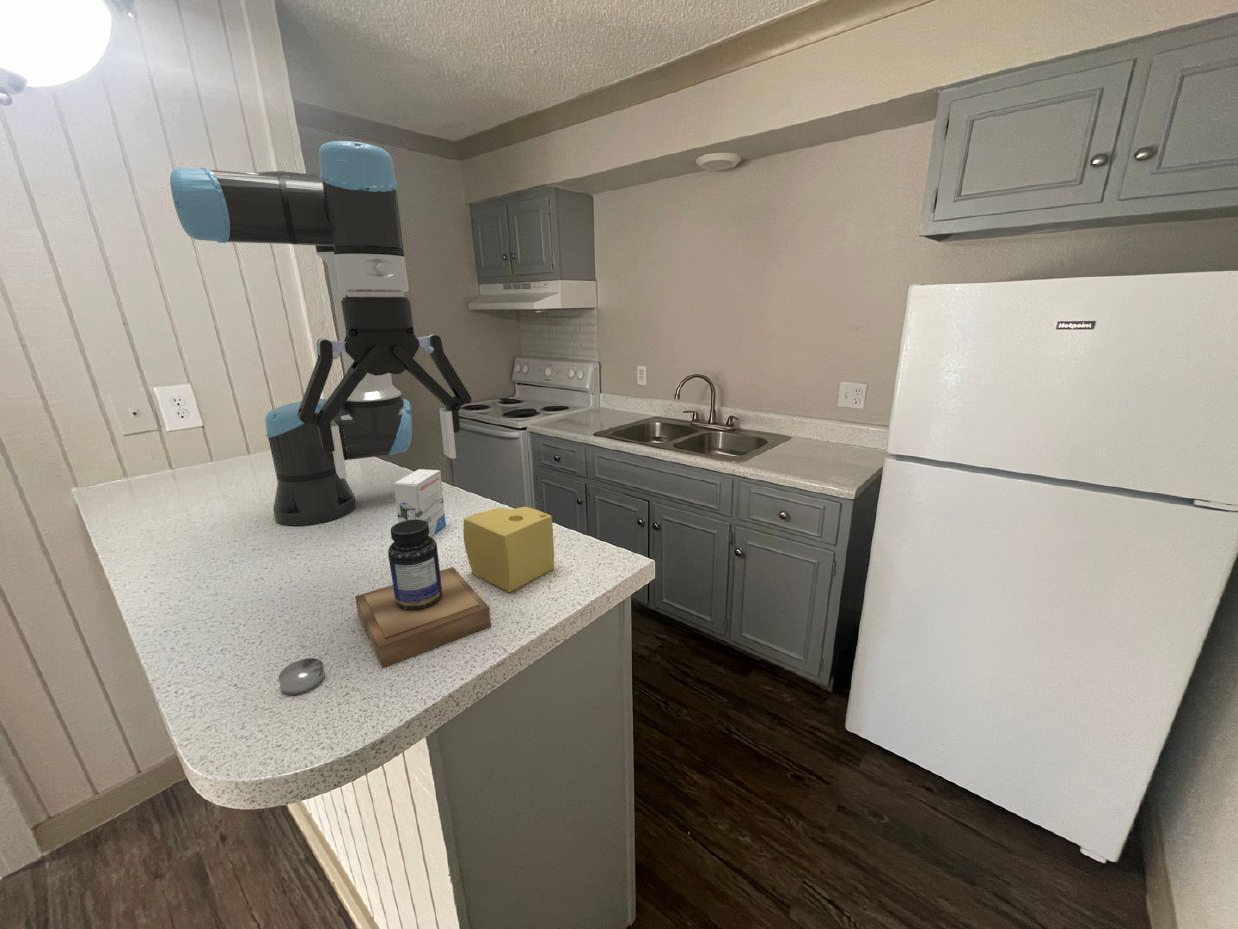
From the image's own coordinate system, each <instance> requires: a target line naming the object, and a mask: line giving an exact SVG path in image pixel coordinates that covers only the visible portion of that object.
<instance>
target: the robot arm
mask: <svg viewBox="0 0 1238 929" xmlns="http://www.w3.org/2000/svg"><path fill="white" fill-rule="evenodd" d="M318 158H319V159H318V160H319V168H320V171H319V174H313V173H302V172H292V171H281V170H275V171H274V170H273V171H271V170H270V171H260V172H240V171H239V172H237V171H236V172H235V171H229V170H228V171H225V170H217V169H210V168H207V167H205V168H204V167H199V168H192V167H191V168H188V167H186V168H185V167H178V168H174V169H173V170H172V171H171V172H170V176H169V185H170V191H171V195H172V201H173V205H174V209H175V212H176V215H177V218H178V220H179V223H180V225H181V227H182V229H183V230H184V232H185V233H186V235H187V236H189V237H190V238H192V239H193V240H197V241H206V242H207V241H208V242H217V243H222V244H227V243H237V244H238V243H239V244H241V243H247V244H272V245H273V244H278V245H280V244H282V245H296V246H315V247H314V248H315V252H316V255H317V256H318V257H319V258H320V259H322V261H324V263H326V265H327V270H328V276H329V282H330V288H331V295H332V300H333V306H334V311H335V312H334V313H335V319H336V326H337V330H338V337H339V340H328V339H325V338H319V339H318V340H317V342H316V347H317V350H316V351H317V359H316V362H315V365H314V367H313V370H312V372H311V375H310V378H309V381H308V384H307V387H306V389H305V392H304V394H303V398H302V400H301V401H296V402H293V403H288V404H284V405H281V406H278V407H276V408H273V409H271V410H269V412H267V414H266V416H265V417H264V420H265V421H264V422H265V428H266V429H265V430H266V434H265V435H266V438H268V442H269V448H270V452H271V457H272V460H273V466H274V471H275V476H276V481H277V485H276V491H275V497H274V502H273V503H274V504H273V507H272V508H273V509H272V510H273V515H274V520H275V522H276V523H278V524H281V525H283V526H284V525H285V526H308V525H315V524H316V525H317V524H321V523H325V522H329V521H333V520H336V519H339V518H341V517H344V516H346V515H348V514H350V513H352V512H354V510H355V509H356V508H357V500H356V496H355V493H354V491H353V490H352V488H351V486H350V484H349V483H348V481H347V479H348V474H347V469H346V463H345V461H351V460H358V459H366V458H367V459H368V458H375V457H382V456H386V457H389V456H390V455H397V454H402V453H404V452H406V451H408V449H409V447H410V445H411V442H412V432H413V429H412V428H413V425H412V424H413V423H412V422H413V420H412V408H411V404H410V403H411V402H410V401H409V400H408V399H405V398H402V397H403V396H402V392H401V391H400V390H399V389H398V388H397V387H395V386H394V385H393V381H392V379H393V378H392V374H393V375H399V374H400V375H402V373H404V372H405V371H407V373H409V374H411V375H412V376H413V377H414V378H415V379H416V380H417V381H418V382H419V383H420V384H422V385H423V386H424V387H425V389H426V390H428V391H429V392H430V393H431V394H432V395H433V396H434V397H435V398H436V399H437V400H438V401H440V402H441V403H442V404H443V405H444V406H445V407H443V408H442V407H441V408H439V410H438V411H439V419H440V420H439V421H440V428H441V438H442V447H443V455H445V457H448V458H449V459H450V460H451V459H457V454H456V453H457V452H456V443H455V442H456V441H455V434H456V433H459V432H460V430H461V424H460V414H459V413H460V412H459V411H460V410H461V409H462V406H464V405H466V404H467V405H468V404H470V403H471V402H472V397H471V394H470V393H469V392H468V389H467V388H466V386H465V385H464V383H463V382H462V379H461V378H460V377H459V375H458V373H457V372H456V370H455V368H454V367H453V365H452V364H451V362H450V360H449V358H448V357H447V355H446V354H445V351H444V346H443V343H442V339H441V337H440V335H437V334H432V333H431V334H430V333H429V334H427V335H426V336H421V337H417V335H416V334H415V330H414V322H413V313H412V305H411V300H409V298H408V297H405V293H408V291H409V290H410V287H409V282H408V281H409V280H408V274H407V267H406V258H405V250H404V244H403V234H402V225H401V224H402V223H401V215H400V213H401V212H400V206H399V195H398V194H399V193H398V188H399V183H398V181H397V179H396V173H395V167H394V161H393V158H392V156H391V154H390V153H389V152H388V151H386V150H385V149H383V148H382V147H379V146H376V145H373V144H370V143H366V142H358V141H350V140H335V141H333V140H332V141H329V142H325V143H323V144H322V145H321V146H320V147H319V150H318ZM420 347H421V349H423V352H425V353H426V354H429V356H430V358H431V359H432V361H433V363H434V364H435V365H436V367H437V369H438V371H439V372H440V374H441V375H442V377H443V378H444V381H445V382H446V384H447V385H448V387H449V388H450V389H451V392H452V393H453V395H454V396H452V395H451V394H450V393H449V392H447V391H446V389H444V387H443V386H441V384H439V383H438V382H437V381H436V380H435V378H433V377H432V376H431V375H430V374H429V373H428V372H427V371H426V370H425V369H424V368H423V367H422V365H421V364H420V363H418V362H417V361H416V360H415V359H414V357H415V356H416V355H417V352H418V350H419V348H420ZM340 355H341V356H342V362H343V367H344V368H343V369H344V376H343V378H342V379H341V380H340V382H339V383H338V385H337V386H336V388H335V389H334V390H333V391H332V393H331V395H330V396H329V397H328V399H326V398H321V396H322V394H323V390H324V388H325V385H326V382H327V380H328V378H329V375H330V372H331V369H332V365H333V361H334V360H337V359H338V358H339V357H340ZM346 478H347V479H346Z"/></svg>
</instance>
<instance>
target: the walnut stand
mask: <svg viewBox="0 0 1238 929" xmlns="http://www.w3.org/2000/svg"><path fill="white" fill-rule="evenodd" d="M440 576H441V584H442V596H441V598H440V599H439V600H438V602H436V603H435V604H434V605H432V606H430V607H427V608H424V609H420V610H404V609H401V608H400V607H399V606H398V605H397V604H396V601H395V595H394V589H393V584H391V585H388V586H384V587H382V588H378V589H375V590H372V591H367V592H365V593H361V594H358V595H355V596H354V598H355V604H356V609H357V610H356V611H357V614H358V617H359V619H360V621H361V624H362V627H363V629H364V630H365V632H366V635H367V637H368V640H369V642H370V644H371V646H372V648H373V650H374V653H375V654H376V657H377V660H378V661H379V664H380V666H381V668H386V667H388V666H390V665H394V664H395V663H398V662H402V661H403V660H406V659H409V658H411V657H414V656H417V655H419V654H421V653H424V652H427V651H431V650H433V649H436V648H438V647H440V646H443V645H446V644H448V643H451V642H453V641H456V640H459V639H461V638H464V637H466V636H469V635H471V634H474V633H477V632H480V631H482V630H485V629H488V628H490V627H492V622H491V613H490V606H489V605H488V604H487V603H486V602H485V601H484V599H483V598H482V597H481V596H480V595H479V594H478V593H477V591H476V590H474V589H473V587H472V586H471V585H470V584H469V583H468V582H467V581H466V580H465V579H464V577H463V576H462V575H461V573H459V572H458V571H457V570H456V568H455V567H454V566H452V567H447V568H444V569H442V570H441V569H440Z"/></svg>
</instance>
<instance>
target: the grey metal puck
mask: <svg viewBox="0 0 1238 929" xmlns="http://www.w3.org/2000/svg"><path fill="white" fill-rule="evenodd" d="M325 673H326V672H325V669H324V664H323V662H322V660H321V659H318V658H314V657H310V658H304V659H303V658H302V659H300V660H297V661H295V662H292V663H291V664H289V665H287V666H286V667H284V668H283V669H282V670H281V672H280V673H279V675H278V681H279V685H280V689H281V692H282V694H284V695H286V696H290V697H291V696H292V697H294V696H296V697H297V696H299V695H300V696H301V695H304V694H307V693H309V692H311V691H313V690H315V689H317V688H318V687H319V686H321V684H322V683H323V682H324V680H325V679H326V674H325Z"/></svg>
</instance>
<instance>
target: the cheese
mask: <svg viewBox="0 0 1238 929" xmlns="http://www.w3.org/2000/svg"><path fill="white" fill-rule="evenodd" d="M553 524H554V523H553V516H552V515H550V514H548V513H545V512H543V511H540V509H539V510H538V509H535V508H532V507H529V506H522V507H517V508H510V509H509V508H504V507H498V508H493V509H490V510H484V511H481V512H478V513H474V514H472V515H469V516H466V517H465V518H464V519H463V526H462V528H463V529H462V530H463V531H462V534H463V544H464V549H465V553H466V557H467V559H468V563H469V566H470V570H471V573H472V575H474V576H476V577H478V578H480V579H482V580H484V581H485V582H487V583H490V584H491V585H493V586H496V587H498V588H500V589H501V590H504V591H505V592H507V593H511V592H513V591H515V590H518V589H519V588H521V587H523V586H524V585H527V584H528V583H530V582H531V581H533V580H535V579H537V578H538V577H540V576H543V575H545V574H547V573H548V572H550V571H553V570H554V568H555V546H554V545H555V542H554V527H553V526H554V525H553Z"/></svg>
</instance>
